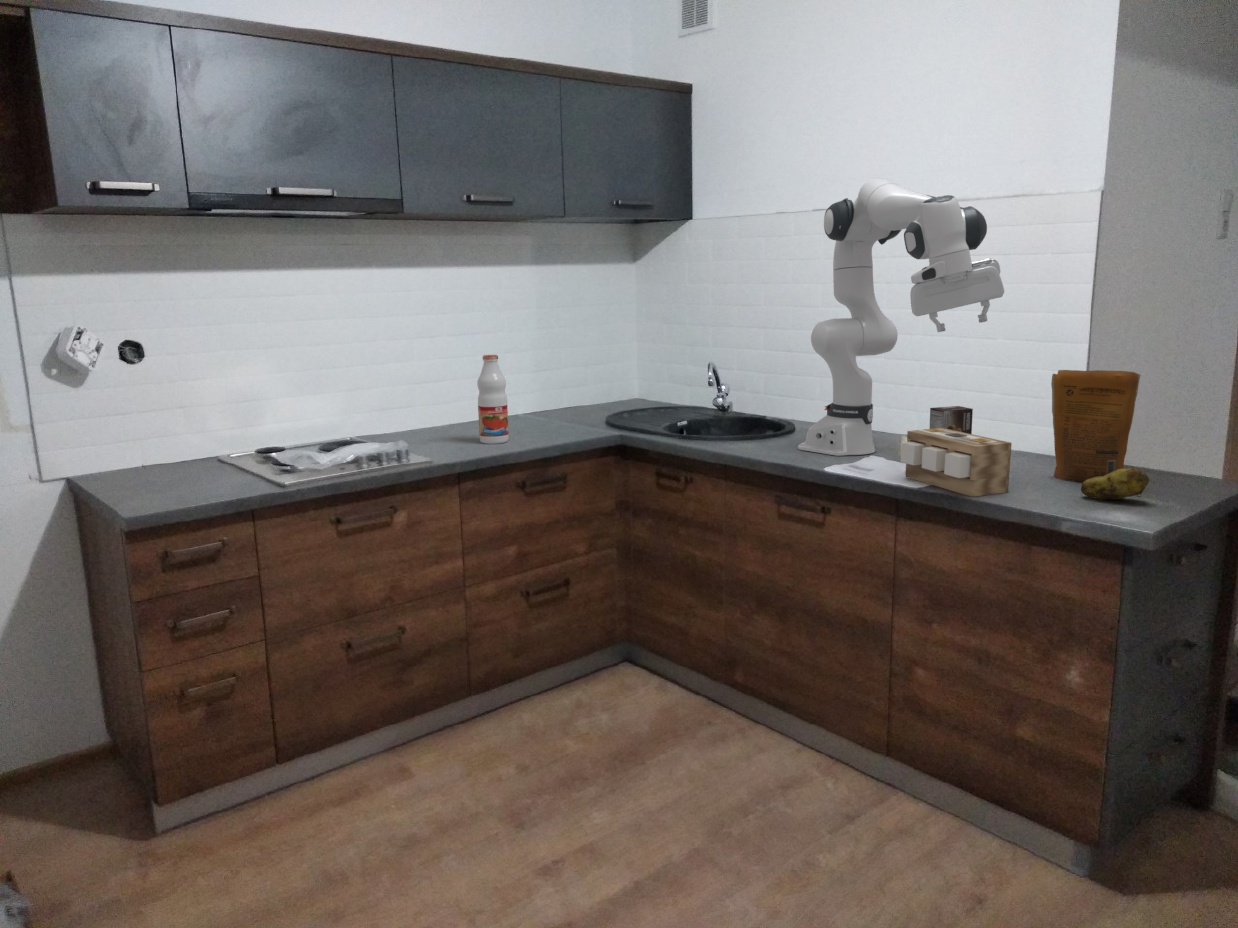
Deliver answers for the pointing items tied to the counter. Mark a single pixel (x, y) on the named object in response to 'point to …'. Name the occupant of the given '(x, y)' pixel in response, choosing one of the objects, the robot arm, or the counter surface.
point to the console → (985, 463)
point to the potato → (1116, 484)
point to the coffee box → (952, 418)
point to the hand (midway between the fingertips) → (962, 326)
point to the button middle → (934, 458)
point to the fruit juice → (492, 403)
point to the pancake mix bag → (1091, 421)
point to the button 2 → (958, 464)
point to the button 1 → (912, 452)
